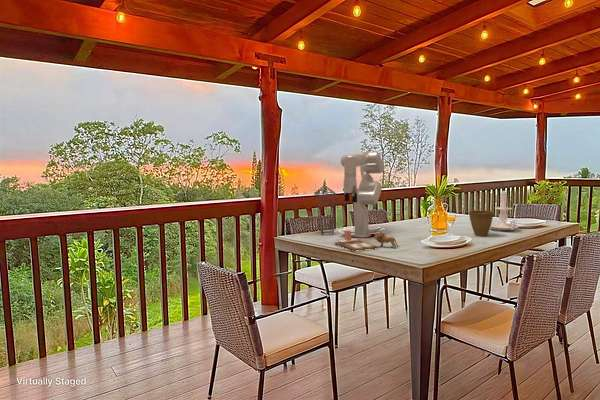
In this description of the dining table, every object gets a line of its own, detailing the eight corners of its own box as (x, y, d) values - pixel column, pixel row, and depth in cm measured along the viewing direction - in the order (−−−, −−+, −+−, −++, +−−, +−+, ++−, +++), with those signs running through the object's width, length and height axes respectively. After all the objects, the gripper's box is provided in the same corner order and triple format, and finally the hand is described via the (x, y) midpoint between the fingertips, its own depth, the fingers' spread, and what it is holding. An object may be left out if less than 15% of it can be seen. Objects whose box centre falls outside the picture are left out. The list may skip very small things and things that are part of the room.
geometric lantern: (338, 235, 287) (336, 186, 283) (316, 236, 288) (313, 187, 284) (337, 231, 303) (334, 184, 299) (316, 232, 303) (313, 185, 299)
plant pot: (488, 233, 278) (488, 210, 276) (496, 237, 263) (496, 213, 262) (465, 233, 280) (466, 210, 278) (472, 237, 265) (473, 213, 263)
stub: (354, 239, 262) (354, 229, 261) (358, 240, 257) (358, 230, 256) (337, 241, 257) (337, 231, 256) (341, 242, 252) (341, 232, 252)
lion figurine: (373, 247, 244) (373, 233, 244) (375, 245, 249) (375, 231, 249) (398, 249, 239) (398, 233, 238) (399, 247, 244) (399, 232, 243)
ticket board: (356, 241, 263) (356, 238, 263) (377, 249, 241) (377, 245, 241) (334, 244, 257) (334, 241, 256) (354, 252, 235) (354, 248, 234)
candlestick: (500, 234, 274) (501, 192, 271) (481, 228, 298) (482, 190, 295) (529, 232, 275) (530, 191, 272) (508, 226, 300) (509, 189, 297)
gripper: (338, 175, 265) (339, 201, 267) (352, 175, 249) (352, 203, 251) (348, 174, 268) (349, 200, 270) (362, 175, 252) (363, 202, 254)
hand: (350, 201), depth 260 cm, fingers open, 9 cm apart
